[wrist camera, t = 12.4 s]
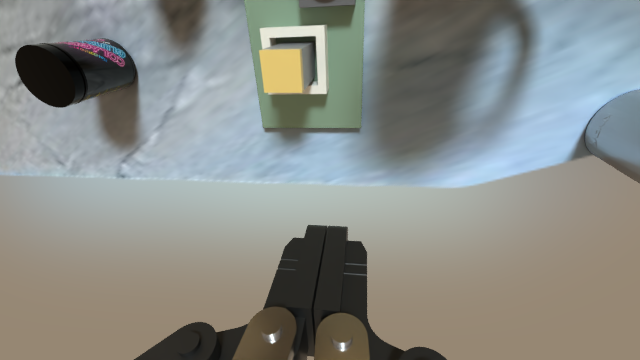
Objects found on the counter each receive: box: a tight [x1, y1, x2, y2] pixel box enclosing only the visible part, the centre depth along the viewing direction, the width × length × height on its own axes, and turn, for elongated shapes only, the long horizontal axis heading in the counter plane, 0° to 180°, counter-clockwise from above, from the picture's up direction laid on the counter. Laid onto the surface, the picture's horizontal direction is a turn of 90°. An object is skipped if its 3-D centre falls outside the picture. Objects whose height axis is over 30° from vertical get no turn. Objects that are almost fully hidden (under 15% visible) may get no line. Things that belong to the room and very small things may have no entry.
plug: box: [259, 42, 316, 93], centre depth 32 cm, size 4×4×9 cm
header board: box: [244, 0, 365, 128], centre depth 34 cm, size 14×22×5 cm, turn 3°
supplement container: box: [15, 38, 135, 107], centre depth 36 cm, size 7×7×10 cm
